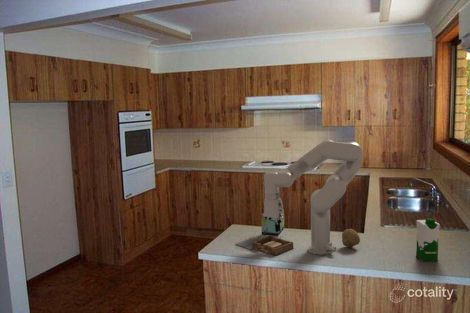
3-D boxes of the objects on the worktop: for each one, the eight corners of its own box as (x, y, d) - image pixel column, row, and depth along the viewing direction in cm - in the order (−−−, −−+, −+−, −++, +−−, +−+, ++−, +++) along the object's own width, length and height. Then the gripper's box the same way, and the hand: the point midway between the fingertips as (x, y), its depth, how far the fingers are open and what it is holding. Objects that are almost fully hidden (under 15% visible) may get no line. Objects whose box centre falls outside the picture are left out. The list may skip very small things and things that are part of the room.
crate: (293, 248, 212) (293, 242, 212) (275, 256, 203) (275, 249, 202) (270, 241, 224) (270, 235, 223) (252, 248, 214) (252, 242, 214)
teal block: (280, 230, 212) (279, 219, 211) (274, 233, 209) (274, 221, 208) (273, 229, 215) (273, 218, 214) (268, 231, 212) (267, 220, 211)
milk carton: (422, 262, 190) (423, 220, 187) (413, 255, 199) (414, 215, 196) (440, 261, 190) (442, 220, 187) (430, 254, 199) (432, 214, 196)
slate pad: (266, 244, 220) (266, 243, 220) (251, 250, 212) (251, 249, 212) (250, 239, 229) (250, 238, 229) (235, 244, 221) (235, 243, 221)
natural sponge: (361, 246, 213) (361, 227, 211) (357, 251, 205) (357, 232, 204) (344, 243, 217) (344, 225, 216) (339, 249, 210) (339, 230, 209)
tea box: (278, 242, 223) (278, 216, 221) (261, 240, 226) (260, 215, 224) (284, 234, 237) (284, 209, 235) (267, 232, 240) (267, 208, 238)
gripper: (289, 196, 206) (291, 231, 208) (265, 192, 218) (267, 225, 220) (280, 199, 201) (282, 235, 203) (255, 195, 213) (257, 229, 215)
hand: (274, 230), depth 212 cm, fingers closed on teal block, 4 cm apart
